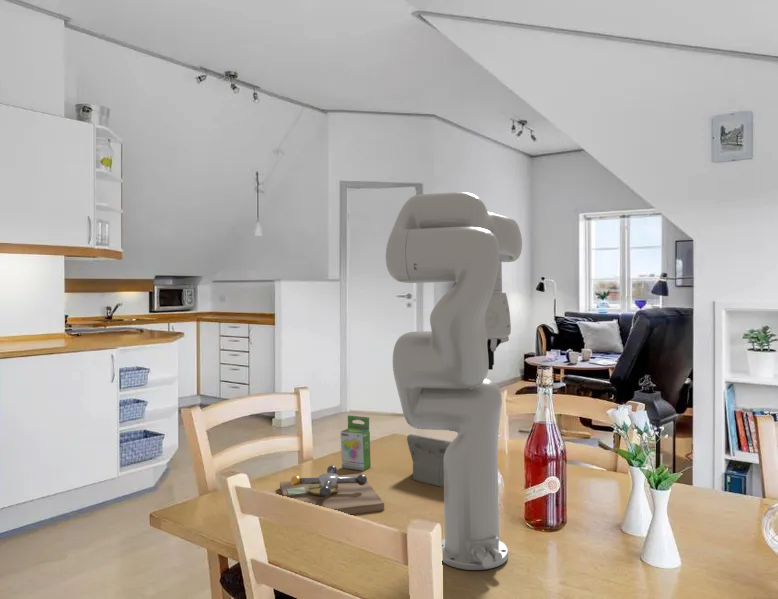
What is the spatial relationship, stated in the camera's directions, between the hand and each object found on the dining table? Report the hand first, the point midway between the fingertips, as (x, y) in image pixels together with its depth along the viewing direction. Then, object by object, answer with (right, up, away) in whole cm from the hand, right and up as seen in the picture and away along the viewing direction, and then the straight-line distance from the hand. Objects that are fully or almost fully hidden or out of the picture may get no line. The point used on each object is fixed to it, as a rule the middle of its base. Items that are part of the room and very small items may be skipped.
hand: (486, 368), depth 135 cm
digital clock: (-10, -29, +15) cm, 34 cm away
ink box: (-30, -30, +26) cm, 50 cm away
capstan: (-35, -28, +3) cm, 45 cm away
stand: (-35, -30, +3) cm, 46 cm away
